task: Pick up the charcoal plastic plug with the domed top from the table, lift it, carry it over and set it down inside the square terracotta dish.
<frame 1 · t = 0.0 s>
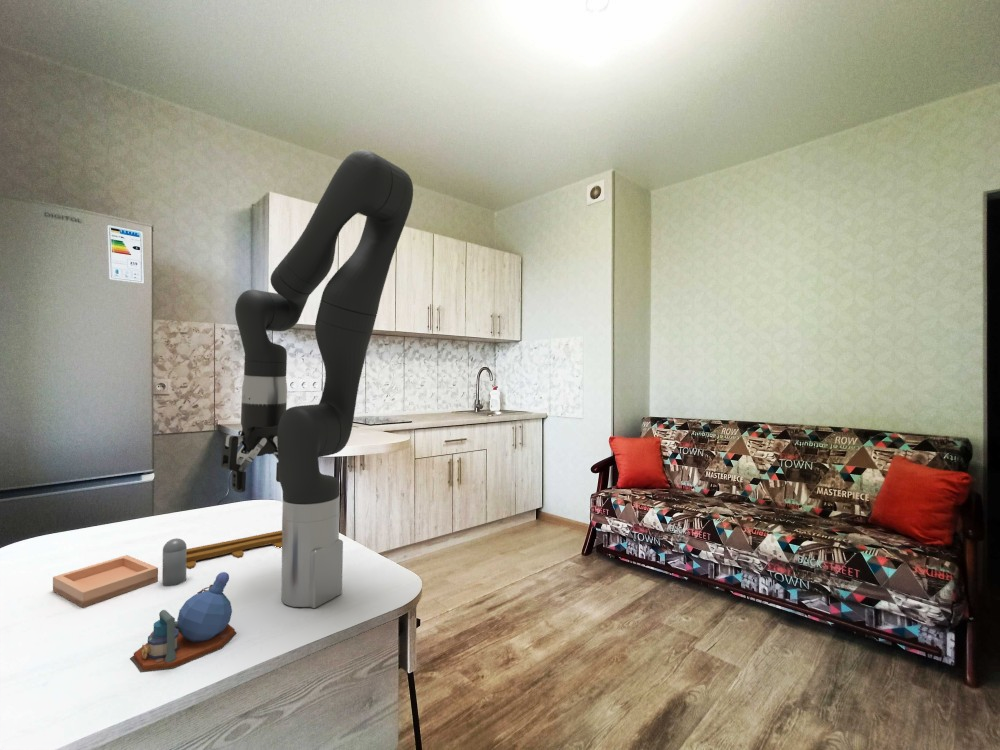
hand: (261, 486, 89), 17 cm above the table, tool pointing down, fingers open, 8 cm apart
model: (186, 648, 68), on the table
plug: (174, 581, 87), on the table
decorative fence: (243, 551, 103), on the table
dish: (106, 586, 85), on the table
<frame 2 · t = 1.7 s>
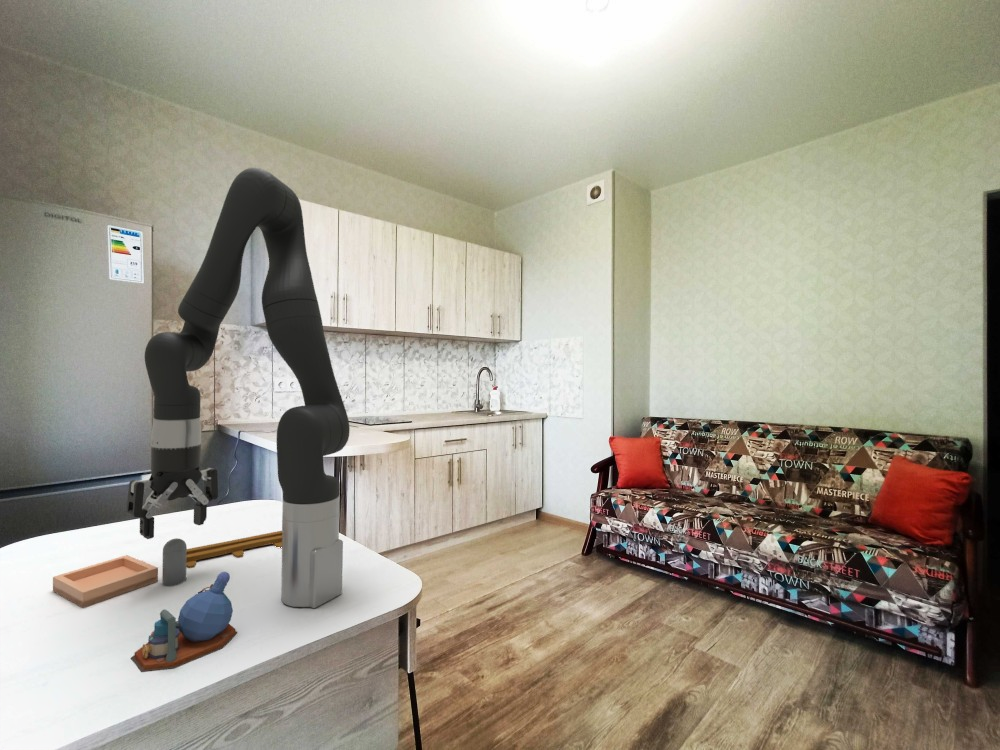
hand: (174, 530, 87), 9 cm above the table, tool pointing down, fingers open, 8 cm apart
nothing on the table moved.
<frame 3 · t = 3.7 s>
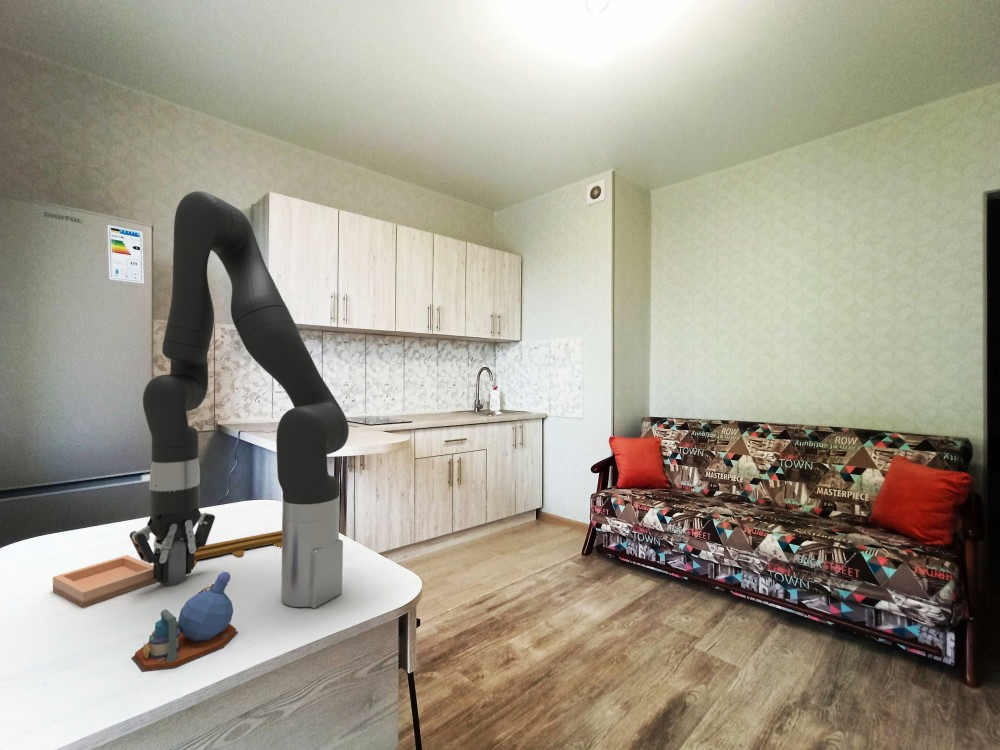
hand: (174, 576, 87), 1 cm above the table, tool pointing down, fingers closed on plug, 3 cm apart
plug: (174, 581, 87), on the table, touching gripper
everything else where it was.
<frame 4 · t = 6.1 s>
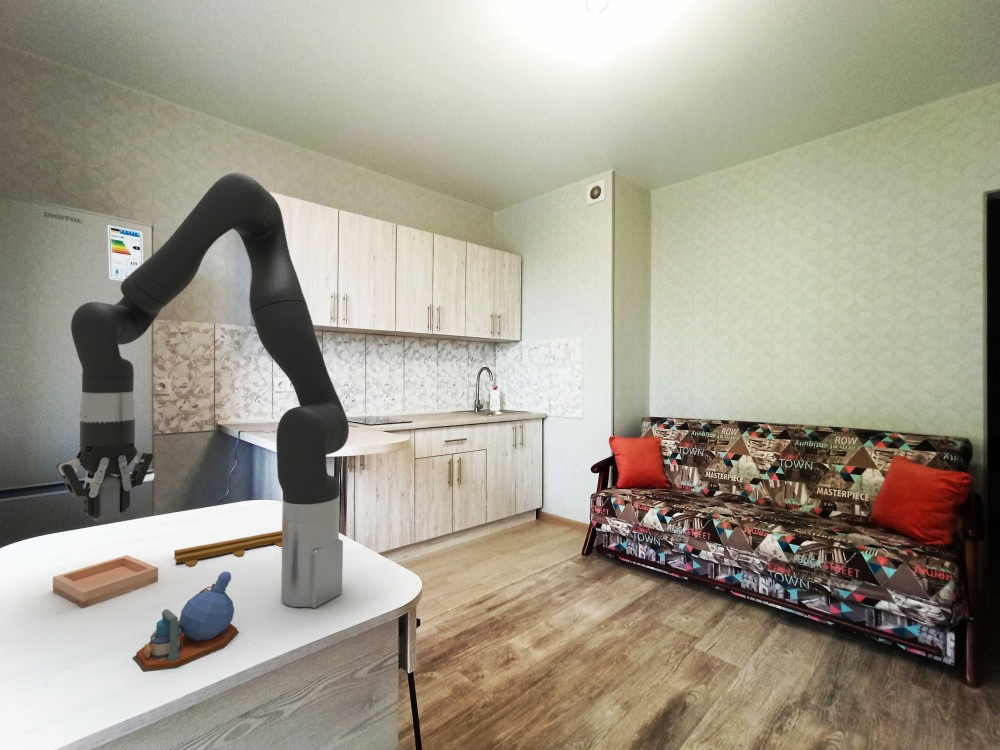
hand: (107, 513, 84), 13 cm above the table, tool pointing down, fingers closed on plug, 3 cm apart
plug: (107, 518, 84), point 12 cm above the table, touching gripper
everything else where it was.
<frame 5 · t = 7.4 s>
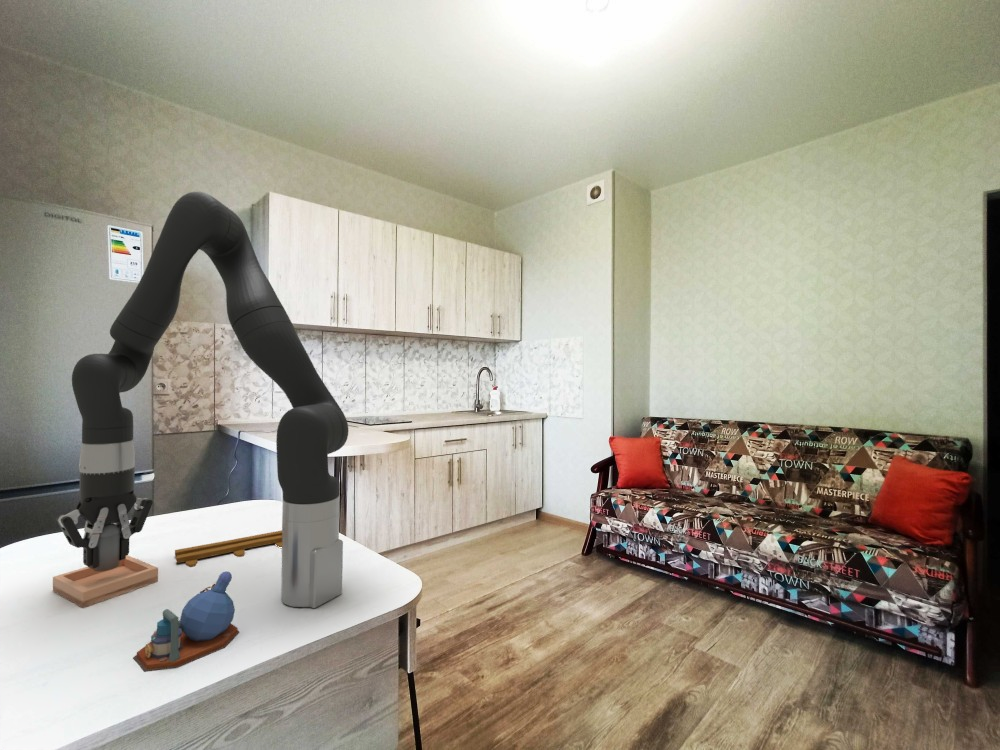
hand: (106, 562, 85), 4 cm above the table, tool pointing down, fingers closed on plug, 3 cm apart
plug: (106, 566, 85), point 3 cm above the table, touching gripper
everything else where it was.
when the fingers open (3 cm above the table, at t = 8.5 s): plug stays where it is, resting on dish.
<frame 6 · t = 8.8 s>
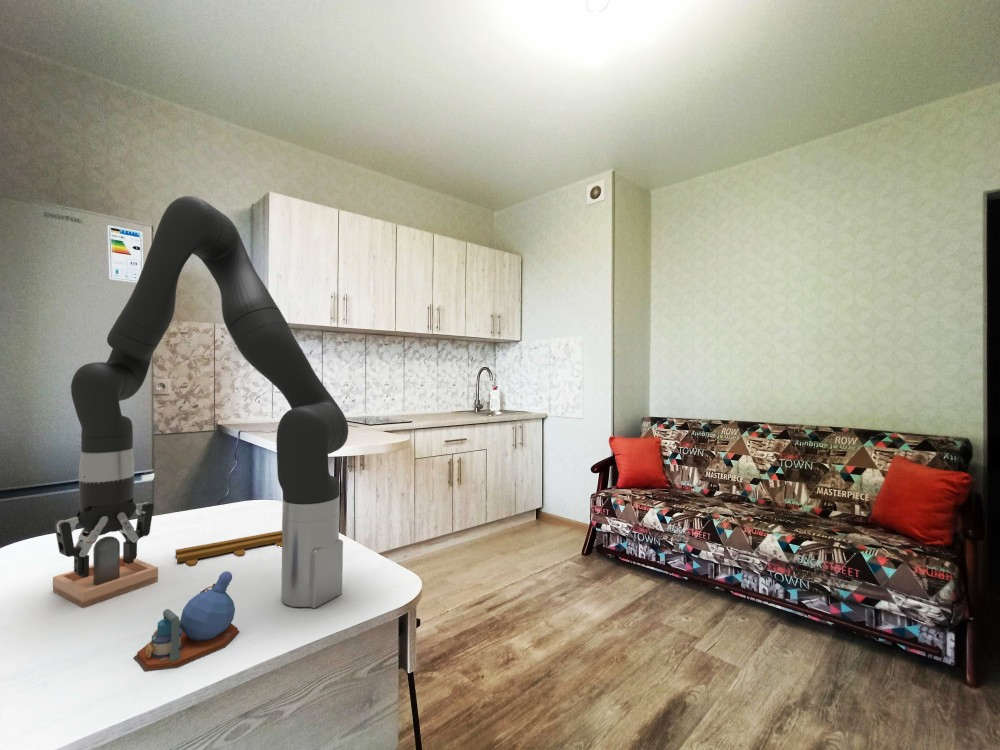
hand: (106, 568, 84), 3 cm above the table, tool pointing down, fingers open, 6 cm apart
plug: (106, 580, 85), point 1 cm above the table, touching dish
everything else where it was.
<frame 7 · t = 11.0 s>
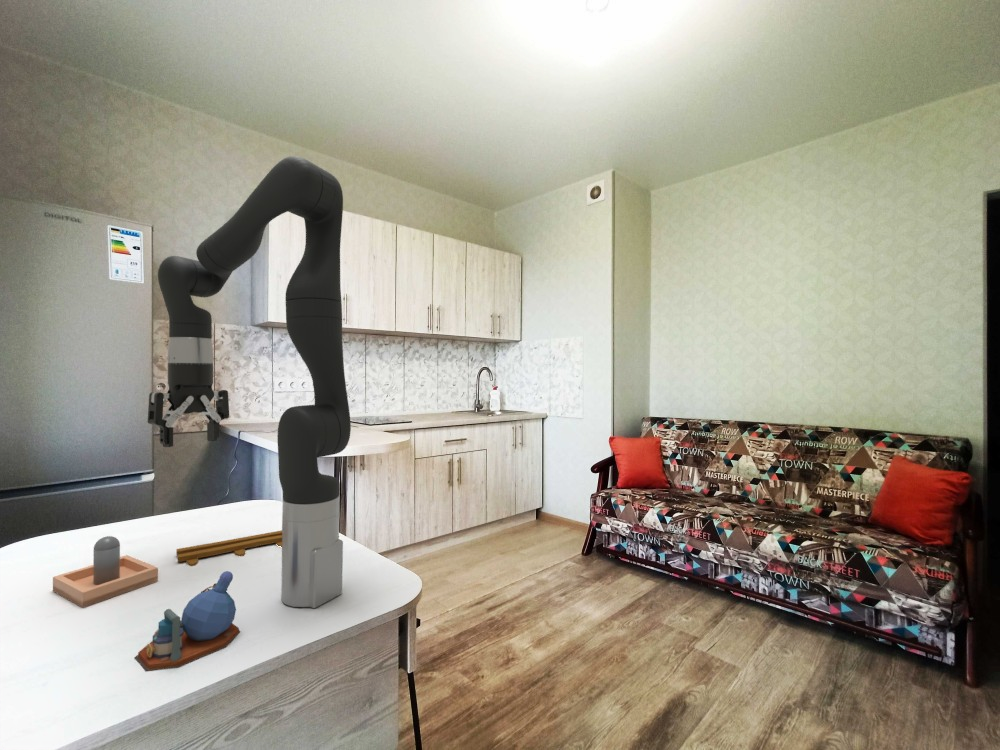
hand: (191, 443, 94), 24 cm above the table, tool pointing down, fingers open, 8 cm apart
nothing on the table moved.
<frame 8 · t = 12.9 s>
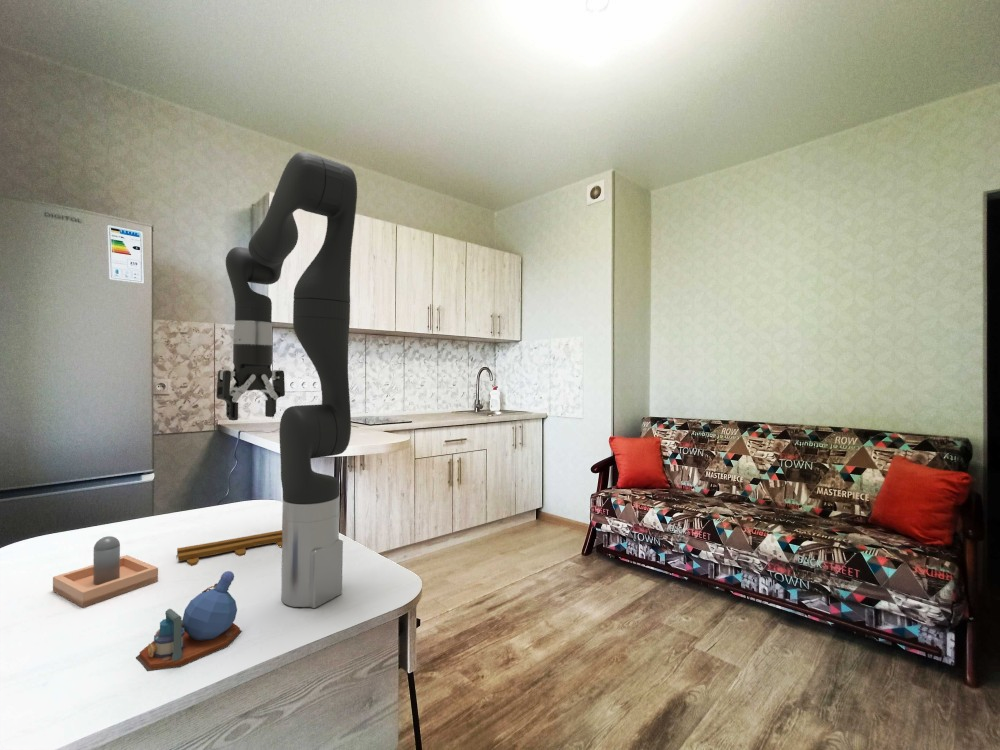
hand: (252, 418, 103), 28 cm above the table, tool pointing down, fingers open, 8 cm apart
at the end: plug inside the target area on the dish (0.0 cm from its centre), point 1.0 cm above the dish's base; plug tilted 0°; the gripper is holding nothing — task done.
